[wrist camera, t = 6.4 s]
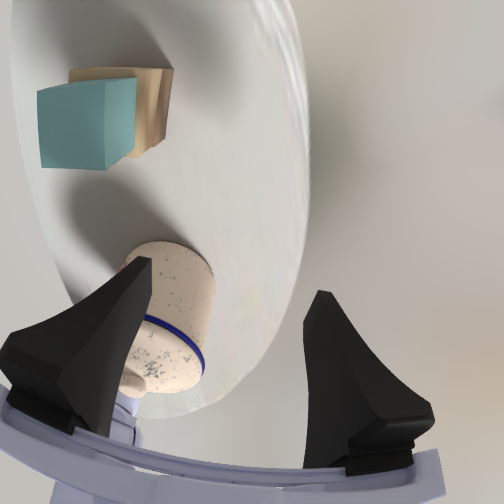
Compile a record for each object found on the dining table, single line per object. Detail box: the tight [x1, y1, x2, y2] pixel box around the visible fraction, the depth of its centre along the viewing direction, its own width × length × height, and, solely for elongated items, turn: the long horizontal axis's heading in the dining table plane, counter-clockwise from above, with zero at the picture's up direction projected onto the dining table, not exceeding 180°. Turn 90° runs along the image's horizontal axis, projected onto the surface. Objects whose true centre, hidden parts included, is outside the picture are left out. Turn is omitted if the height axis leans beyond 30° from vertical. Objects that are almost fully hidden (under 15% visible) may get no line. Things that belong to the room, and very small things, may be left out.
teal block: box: [37, 78, 138, 171], centre depth 12 cm, size 4×4×4 cm
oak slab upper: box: [69, 67, 163, 158], centre depth 14 cm, size 5×5×2 cm
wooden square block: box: [138, 67, 174, 147], centre depth 17 cm, size 5×5×2 cm
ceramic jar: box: [118, 241, 216, 398], centre depth 22 cm, size 12×9×12 cm
